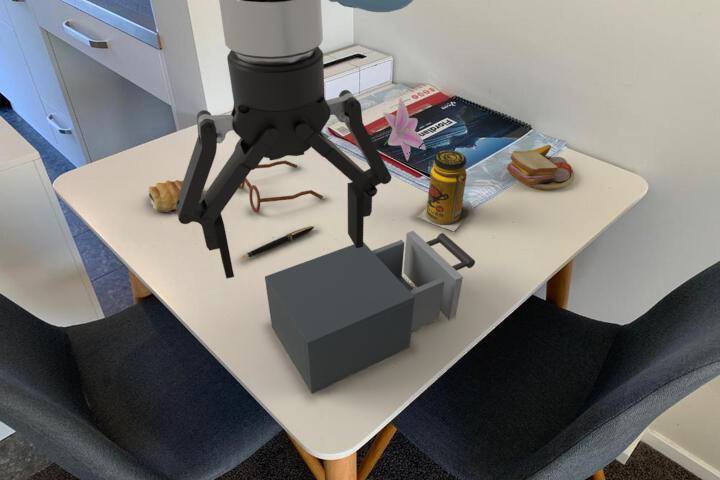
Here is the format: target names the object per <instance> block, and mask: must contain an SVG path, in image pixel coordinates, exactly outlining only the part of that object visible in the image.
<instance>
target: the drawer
mask: <svg viewBox="0 0 720 480" xmlns="http://www.w3.org/2000/svg"><path fill="white" fill-rule="evenodd" d="M438 244H441V245H442V246H443V247H444V248H445V249H446V250H447V251H448V252H449V253H450V254H451V255H453V256H454V257H455V258H456V259H457V260H458V261H459V263H456V264H454V265H451V264H450V263H449V262H448V261H447V260H446V259H445V258H443V256H442V255H440V254H439V253H438V252H437V251H436V250H435V249H434V248H433V247H432V246H435V245H438ZM371 251H372V252H373V253H374V254H375V255H376V256H377V257H378V258H379V259H380V260H381V261H382V262H383V263H384V264H385V266H386V267H387V268H388V269H389V270H390V271H391V272H392V273H393V274H394V275H395V276H396V277H397V278H398V279H399V281H400V282H401V283H402V284H403V285H404V286H405V287H406V288H407V289H408V290H409V291H410V292H411V293H412V294H413V296H414V297H415V299H414V309H413V318H412V328H411V333H412V332H415V331H417V330H418V329H421V328H423V327H426V326H427V325H429V324H432V323H434V322H436V321H438V320H439V318H440V313H441V314H442V315H443V316H444V318H446V319H447V320H448V321H452V320H453V319H456V317H457V313H458V308H459V307H458V306H459V302H460V300H459V299H460V296H461V291H462V285H463V279H464V276H463V275H462V274H461V273H460V272H459V270H461V269H464V268H468V269H471V268H473V267H474V266H475V264H476V260H475V259H474V258H473V257H471V256H470V255H469V253H467V252H465V250H464V249H463V248H461V247H460V246H459V245H458V244H457V243H456V242H454V241H453V239H451V238H450V237H449V236H447V235H446V234H445V233H444V232H440V233H439V234H438V235H437V236H436V238H433V239H430V240H428V241H426V240H424V239H423V238H422V237H421V236H420V235H419V234H417V232H415V231H414V230H410V231H409V232H408V231H407V232H406V236H405V241H404V240H403V239H399V240H396V241H394V242H391V243H389V244H386V245H384V246H381V247H378V248H375V249H372V250H371ZM403 274H404V275H405V277H406V278H408V280H409V281H410V282H412V284H413V285H414V286H415V288H413V287H412V285H411V284H410V283H409V282H408V281H407V280H406V279H405V278H404V277H403Z"/></svg>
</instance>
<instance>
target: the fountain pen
mask: <svg viewBox="0 0 720 480" xmlns="http://www.w3.org/2000/svg"><path fill="white" fill-rule="evenodd" d="M314 228H315V226H311V225H310V226H307V227H303V228H300V229H297V230H295V231H292V232H290V233H287V234H286V235H284V236H282V237H279V238H277V239H274V240H273V241H270V242H268V243H266V244H264V245H261V246H259V247H257V248H255V249H253V250H251V251H249V252H247V253H246V255H245V254H244V255H242V256H241V257H240V259H245V258H251V257H255V256H256V255H259V254H262V253H265V252H267V251H269V250H272V249H275V248H276V247H279V246H281V245H284V244H286V243H288V242H289V243H290V242H292V241H294V240H296V239H299V238H301V237H302V236H305V235H307V234H309V233H310V232H311V231H313V229H314Z"/></svg>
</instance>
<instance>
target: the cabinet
mask: <svg viewBox="0 0 720 480" xmlns="http://www.w3.org/2000/svg"><path fill="white" fill-rule="evenodd" d="M372 251H373V250H372V249H371V248H370V247H369V246H368V245H367V244H366V243H365V242H364V241H363V247H360V248H356V247H355V245H354V243H353V244H351V245H347V246H346V247H341V248H340V249H337V250H334V251H332V252H329V253H326V254H323V255H321V256H318V257H314V258H312V259H310V260H306V261H303V262H301V263H298V264H296V265H293V266H289V267H286V268H285V269H281V270H279V271H276V272H273V273H270V274H267V275H265V276H264V281H265V288H266V296H267V302H268V310H269V315H270V323H271V324H270V325H271V328H272V330H273V332H274V333H275V335H276V336H277V338H278V340H279V342H280V343H281V345H282V347H283V349H284V350H285V351H286V353H287V356H289V358H290V360H291V362H292V363H293V365H294V367H295V368H296V371H297V372H298V373H299V375H300V377H301V378H302V380H303V382H304V384H305V385H306V387H307V389H308V390H309V392H310V394H312V395H313V394H315V393H317V392H319V391H321V390H323V389H325V388H327V387H330V386H333V384H337V382H340V381H342V380H344V379H346V378H348V377H351V376H353V375H355V374H357V373H359V372H361V371H363V370H365V369H367V368H370V367H371V366H374V365H375V364H378V363H380V362H382V361H384V360H386V359H388V358H391V357H393V356H395V355H396V354H399V353H400V352H403V351H405V350H407V349H410V346H411V337H412V332H411V328H412V318H413V309H414V299H415V297H414V296H413V294H412V293H411V292H410V291H409V290H408V289H407V288H406V287H405V286H404V285H403V284H402V283H401V282H400V281H399V279H398V278H397V277H396V276H395V275H394V274H393V273H392V272H391V271H390V270H389V269H388V268H387V267H386V266H385V264H384V263H383V262H382V261H381V260H380V259H379V258H378V257H377V256H376V255H375V254H374V253H373V252H372Z"/></svg>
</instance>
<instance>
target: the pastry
mask: <svg viewBox="0 0 720 480" xmlns="http://www.w3.org/2000/svg"><path fill="white" fill-rule="evenodd" d="M182 183H183V180H178V179H176V180H173V181H171V180H165V182H157V183H156V184H155V185H154V186H149V187H148V191H147V194H148V197H149V198H150V200H151V201H150V204H151V205H152V208H153V210H155V211H157V212H162V213H166V212H167V213H168V212H171V211H173V210H177V208H176V202H177V199H178V195H179V192H180V189H181V186H182ZM203 196H204V191H203V192H202V195H201V198H202V197H203Z"/></svg>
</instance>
